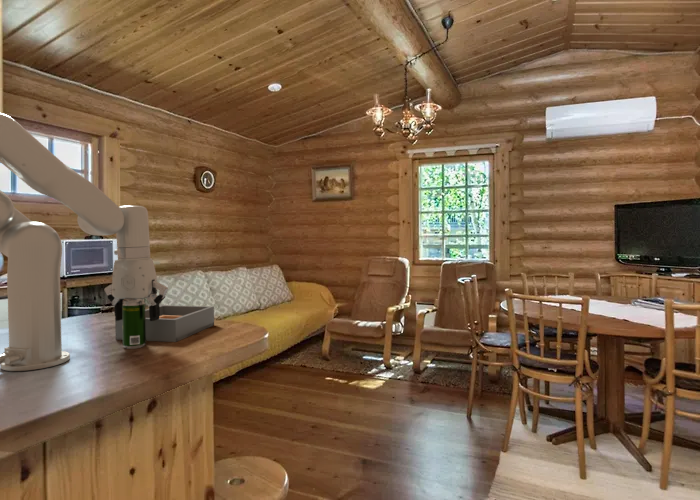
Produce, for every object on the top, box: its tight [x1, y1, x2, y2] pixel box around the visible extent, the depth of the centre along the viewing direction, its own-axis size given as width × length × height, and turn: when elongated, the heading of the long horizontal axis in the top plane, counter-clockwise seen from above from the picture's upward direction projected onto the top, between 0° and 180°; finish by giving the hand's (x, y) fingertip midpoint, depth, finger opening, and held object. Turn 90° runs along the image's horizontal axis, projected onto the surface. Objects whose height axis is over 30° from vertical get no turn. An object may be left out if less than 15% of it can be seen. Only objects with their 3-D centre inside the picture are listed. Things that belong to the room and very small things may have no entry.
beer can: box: [122, 298, 147, 350], centre depth 112 cm, size 5×5×12 cm
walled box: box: [114, 304, 215, 343], centre depth 129 cm, size 22×18×6 cm
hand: (137, 319), depth 112 cm, fingers open, 9 cm apart
